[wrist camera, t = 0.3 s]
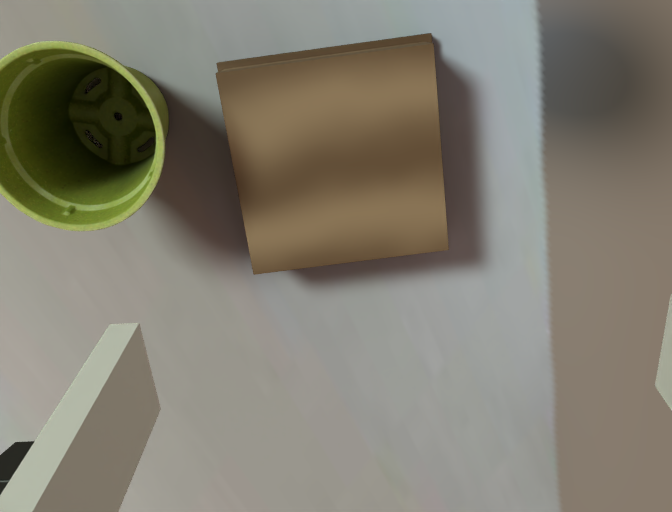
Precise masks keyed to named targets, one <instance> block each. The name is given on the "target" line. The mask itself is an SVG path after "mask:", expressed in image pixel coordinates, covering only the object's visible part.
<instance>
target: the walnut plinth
mask: <svg viewBox="0 0 672 512" xmlns="http://www.w3.org/2000/svg"><path fill="white" fill-rule="evenodd" d="M217 68H218V72H217V73H216V78H217V84H218V89H219V94H220V99H221V105H222V110H223V115H224V121H225V126H226V131H227V136H228V142H229V147H230V152H231V158H232V163H233V168H234V173H235V179H236V184H237V189H238V195H239V200H240V205H241V210H242V216H243V221H244V226H245V232H246V237H247V242H248V247H249V253H250V258H251V263H252V269H253V274H262V273H270V272H278V271H285V270H293V269H301V268H309V267H317V266H325V265H333V264H341V263H349V262H357V261H365V260H373V259H381V258H389V257H397V256H405V255H413V254H421V253H428V252H436V251H444V250H449V247H448V233H447V220H446V206H445V192H444V179H443V165H442V152H441V138H440V124H439V111H438V97H437V84H436V70H435V56H434V43H432V35H431V33H428V34H421V35H414V36H407V37H399V38H392V39H385V40H378V41H370V42H363V43H356V44H349V45H341V46H334V47H327V48H320V49H312V50H305V51H298V52H291V53H283V54H276V55H269V56H262V57H254V58H247V59H240V60H233V61H225V62H218V63H217Z"/></svg>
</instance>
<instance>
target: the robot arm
mask: <svg viewBox="0 0 672 512" xmlns="http://www.w3.org/2000/svg"><path fill="white" fill-rule="evenodd" d="M655 387H656V388H657V390H658V391H659V392H660V394H661V396H662V397H663V399H664V400H665V402H666V403H667V405H668V406H669V408H670V409H671V410H672V294H671V297H670V303H669V308H668V314H667V320H666V326H665V331H664V337H663V343H662V348H661V354H660V360H659V365H658V372H657V377H656V383H655ZM160 410H161V408H160V404H159V400H158V396H157V392H156V388H155V384H154V380H153V376H152V372H151V368H150V364H149V360H148V356H147V352H146V348H145V344H144V340H143V336H142V332H141V328H140V324H139V323H128V324H110V325H109V326H108V328H107V329H106V331H105V333H104V334H103V336H102V337H101V339H100V340H99V342H98V343H97V345H96V347H95V348H94V350H93V351H92V353H91V354H90V356H89V358H88V359H87V361H86V362H85V364H84V365H83V367H82V368H81V370H80V372H79V373H78V375H77V376H76V378H75V379H74V381H73V382H72V384H71V386H70V387H69V389H68V390H67V392H66V393H65V395H64V397H63V398H62V400H61V401H60V403H59V404H58V406H57V407H56V409H55V411H54V412H53V414H52V415H51V417H50V418H49V420H48V421H47V423H46V425H45V426H44V428H43V429H42V431H41V432H40V434H39V436H38V437H37V439H36V440H35V441H31V442H15V443H14V444H13V445H12V446H11V447H9V448H8V449H7V450H6V451H5V452H3V453H2V454H1V455H0V512H118V511H119V508H120V506H121V504H122V501H123V499H124V496H125V494H126V492H127V489H128V487H129V484H130V482H131V480H132V477H133V475H134V472H135V470H136V467H137V465H138V463H139V460H140V458H141V455H142V453H143V451H144V448H145V446H146V443H147V441H148V439H149V436H150V434H151V431H152V429H153V426H154V424H155V422H156V419H157V417H158V414H159V412H160Z"/></svg>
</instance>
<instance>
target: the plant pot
mask: <svg viewBox="0 0 672 512" xmlns="http://www.w3.org/2000/svg"><path fill="white" fill-rule="evenodd" d="M95 78H99V79H100V80H101V83H100V84H98V85H96V86H95V87H94V88H92V89H91V91H90V92H88V93H87V94H85V89H86V87H87V85H88V84H89V83H90V82H91V81H92V80H94V79H95ZM116 112H119V113H120V114H121V115H122V119H121V120H119V121H118V120H116V119H115V118H114V114H115V113H116ZM168 128H169V114H168V108H167V104H166V101H165V99H164V97H163V95H162V93H161V92H160V90H159V89H158V87H157V86H156V85H155V84H154V83H153V82H152V81H151V80H150V79H149V78H148V77H147V76H145V75H144V74H142V73H141V72H139V71H137V70H135V69H133V68H130V67H126V66H123V65H122V64H121V63H119V62H118V61H117V60H115V59H113V58H112V57H110V56H108V55H107V54H105V53H103V52H101V51H98V50H96V49H94V48H91V47H88V46H85V45H81V44H77V43H72V42H63V41H44V42H37V43H33V44H29V45H26V46H23V47H21V48H19V49H17V50H15V51H13V52H11V53H10V54H8V55H6V56H5V57H3V58H2V59H1V60H0V193H1V194H2V195H3V196H4V197H5V198H6V199H7V200H8V201H9V202H10V203H11V204H12V205H13V206H15V207H16V208H17V209H18V210H20V211H21V212H23V213H25V214H26V215H28V216H29V217H31V218H33V219H35V220H36V221H39V222H41V223H43V224H45V225H48V226H52V227H56V228H60V229H65V230H70V231H94V230H99V229H104V228H107V227H110V226H113V225H116V224H118V223H120V222H122V221H124V220H125V219H127V218H129V217H130V216H131V215H133V214H134V213H135V212H136V211H137V210H139V209H140V208H141V207H142V206H143V204H144V203H145V202H146V201H147V200H148V198H149V197H150V195H151V194H152V192H153V190H154V189H155V187H156V185H157V183H158V181H159V178H160V176H161V173H162V169H163V165H164V159H165V139H166V137H167V133H168ZM86 130H89V131H90V132H91V134H92V135H93V136H94V138H95V139H96V140H97V141H98V142H99V143H100V144H102V148H98V147H97V146H96V145H95V144H94V143H93V142H91V141H90V140H89V139H88V138H87V136H86V134H85V131H86ZM150 137H154V143H153V145H151V146H150V147H149V148H147V149H146V150H145V151H143V152H138V151H137V148H139V147H140V146H142V145H144V144H145V143H146V142H147V141H148V140H149V138H150Z"/></svg>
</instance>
